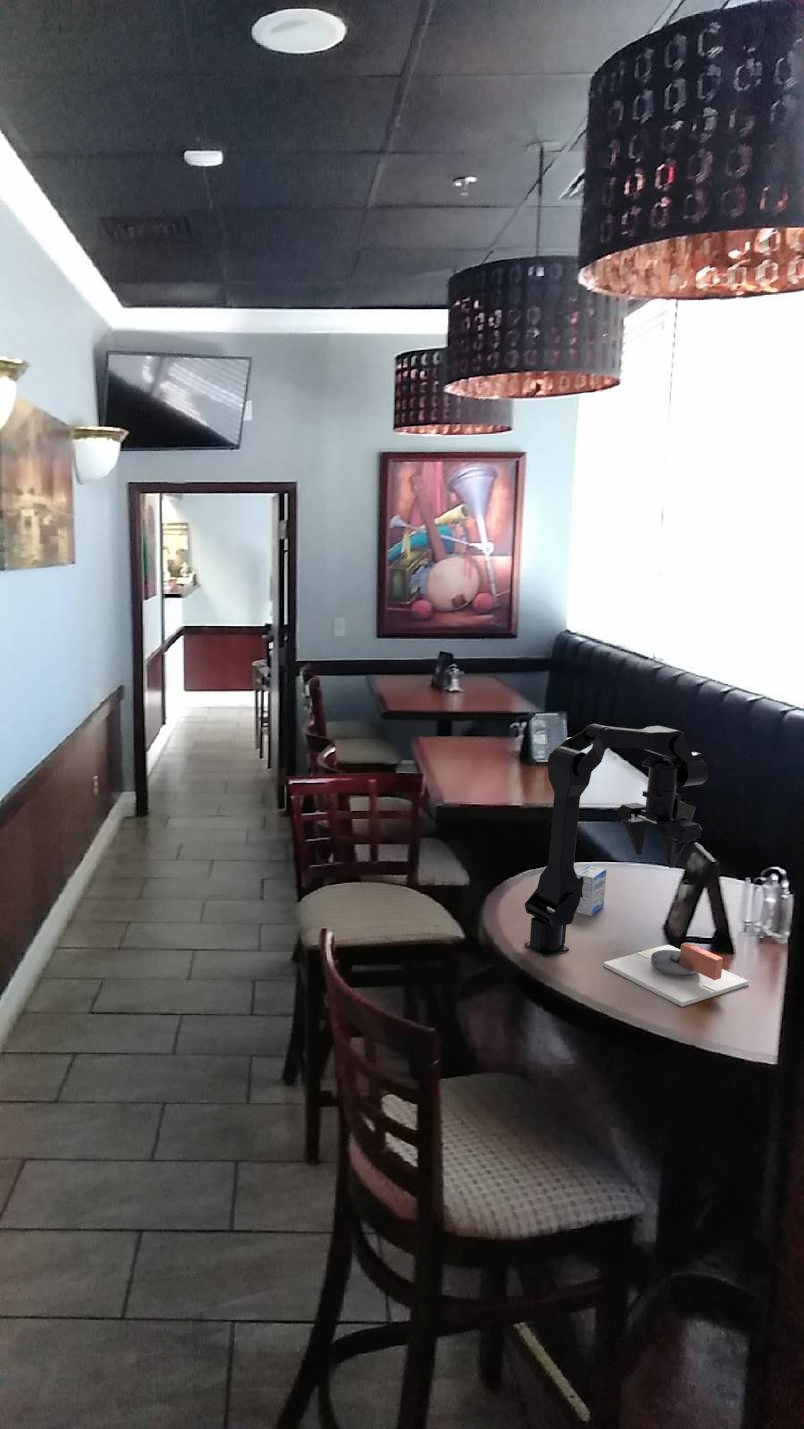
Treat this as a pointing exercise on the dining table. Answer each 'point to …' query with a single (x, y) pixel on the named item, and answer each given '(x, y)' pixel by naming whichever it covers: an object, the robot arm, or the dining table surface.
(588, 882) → the medicine box
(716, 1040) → the dining table surface
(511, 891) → the dining table surface
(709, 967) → the handwheel
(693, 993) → the wheel board
